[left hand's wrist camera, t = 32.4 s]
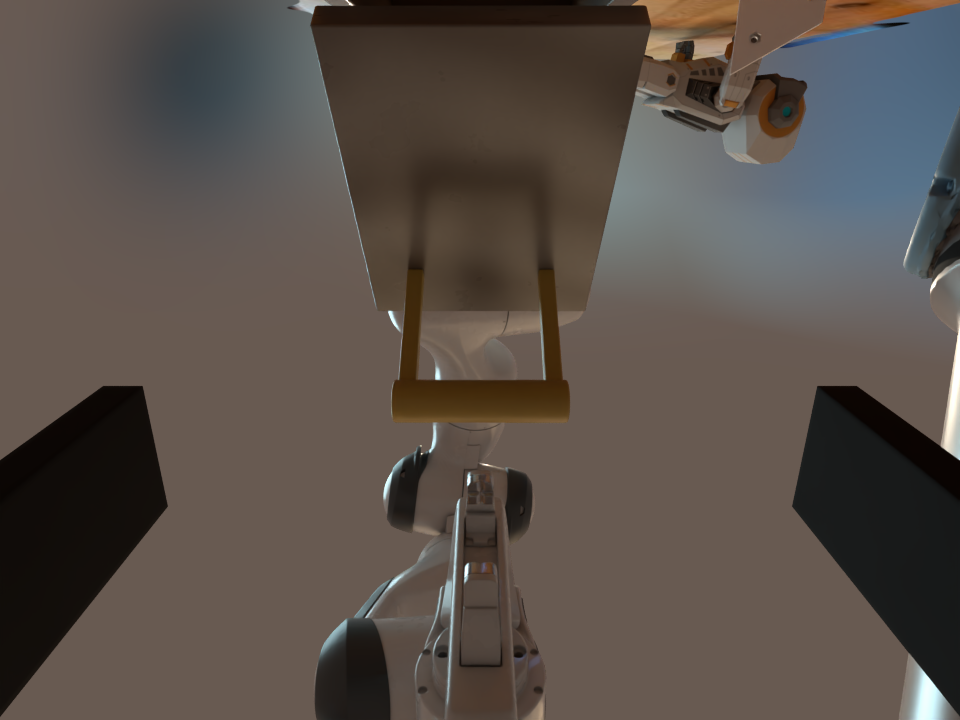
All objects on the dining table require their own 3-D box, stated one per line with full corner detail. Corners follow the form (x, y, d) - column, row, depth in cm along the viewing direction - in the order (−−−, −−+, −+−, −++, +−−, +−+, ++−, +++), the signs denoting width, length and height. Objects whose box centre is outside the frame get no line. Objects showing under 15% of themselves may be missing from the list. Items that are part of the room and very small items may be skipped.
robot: (575, 14, 116) (763, 65, 126) (551, 121, 123) (732, 163, 132) (639, -17, 90) (872, 52, 99) (603, 122, 96) (826, 175, 105)
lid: (583, 293, 31) (600, 451, 27) (378, 293, 31) (360, 450, 27) (647, 4, 19) (696, 201, 15) (314, 4, 19) (263, 200, 15)
